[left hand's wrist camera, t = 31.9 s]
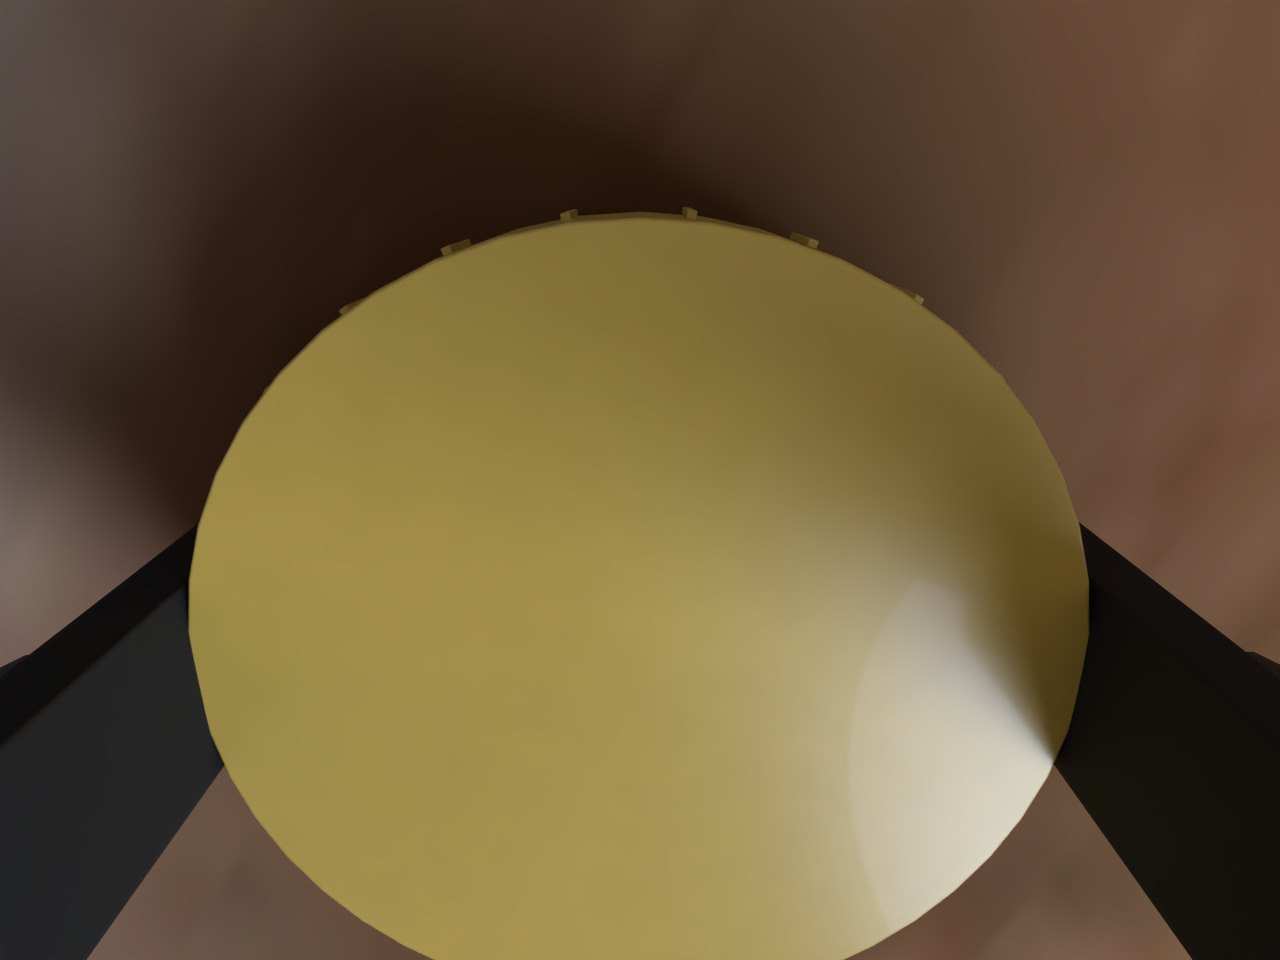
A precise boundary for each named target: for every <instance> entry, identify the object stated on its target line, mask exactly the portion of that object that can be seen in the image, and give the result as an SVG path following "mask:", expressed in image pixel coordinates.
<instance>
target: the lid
mask: <svg viewBox="0 0 1280 960" xmlns="http://www.w3.org/2000/svg"><path fill="white" fill-rule="evenodd" d="M560 217H561V220H556V221H552V222H547V223H542V224H537V225H532V226H528V227H523V228H519V229H516V230H513V231H510V232H508V233H505V234H502V235H499V236H497V237H494V238H491V239H488V240H485V241H483V242H480V243H477V244H474V245H472V244H471V242H470V240H469V239H466V240H463V241H460V242H457V243H454V244H451V245H448V246H446V247H443V248H441V252H442V254H443V256H442V257H440V258H437V259H434V260H432V261H431V262H429V263H427V264H425V265H423V266H421V267H419V268H417V269H415V270H414V271H412V272H410V273H408V274H406V275H404V276H402V277H400V278H399V279H397V280H395V281H393V282H391V283H389V284H387V285H385V286H383V287H382V288H380V289H378V290H376V291H374V292H373V293H372V294H370V295H369V296H367V297H365V298H363V299H360V300H358V301H355V302H353V303H351V304H348V305H346V306H344V307H343V308H342V309H341V310H339V312H340V313H341V315H342V316H340V317H339V318H337V319H336V320H335V321H333V322H332V323H331V324H329V325H328V326H327V327H325V328H324V329H322V330H321V331H320V332H319V333H318V334H317V335H316V336H315V337H314V338H313V339H312V340H311V341H310V342H309V343H308V344H307V345H306V346H305V347H304V348H303V349H302V350H301V351H300V352H299V353H298V354H297V355H296V356H295V357H294V358H293V359H292V360H291V361H290V362H289V363H288V364H287V365H286V366H285V367H284V368H283V369H282V370H281V371H280V372H279V373H278V374H277V376H276V377H275V378H274V380H273V381H272V382H271V384H270V385H269V386H267V387H266V389H265V390H264V391H263V395H262V396H261V397H260V399H259V400H258V401H257V403H256V404H255V405H254V407H253V408H252V410H251V411H250V412H249V414H248V415H247V416H246V418H245V419H244V420H243V422H242V424H241V425H240V427H239V429H238V431H237V433H236V435H235V437H234V439H233V441H232V443H231V445H230V447H229V448H228V450H227V452H226V454H225V456H224V458H223V460H222V462H221V464H220V466H219V468H218V470H217V471H216V474H215V476H214V479H213V482H212V485H211V488H210V491H209V494H208V497H207V500H206V503H205V506H204V509H203V512H202V515H201V518H200V521H199V524H198V528H197V534H196V540H195V546H194V552H193V558H192V564H191V570H190V576H189V599H188V632H189V637H190V642H191V647H192V652H193V658H194V662H195V667H196V671H197V676H198V681H199V685H200V690H201V694H202V699H203V704H204V708H205V713H206V717H207V721H208V725H209V730H210V733H211V736H212V738H213V741H214V743H215V745H216V747H217V749H218V752H219V754H220V756H221V758H222V760H223V763H224V765H225V767H226V769H227V771H228V774H229V776H230V778H231V779H232V781H233V783H234V784H235V786H236V787H237V789H238V791H239V792H240V794H241V795H242V797H243V799H244V800H245V802H246V803H247V805H248V806H249V808H250V810H251V811H252V813H253V814H254V816H255V818H256V819H257V820H258V822H259V823H260V824H261V825H262V826H263V828H264V829H265V830H266V831H267V833H268V834H269V835H270V836H271V837H272V839H273V840H274V841H275V842H276V844H277V845H278V846H279V847H280V848H281V850H282V851H283V852H284V853H285V855H286V856H287V857H288V858H289V859H290V860H291V861H292V862H293V863H294V864H295V865H296V866H297V867H299V868H300V869H301V870H302V871H303V872H304V873H305V874H306V875H307V876H308V877H309V878H310V879H311V880H312V881H313V882H314V883H315V884H316V885H317V886H318V887H319V888H320V889H322V890H323V891H324V892H325V893H326V894H328V895H329V896H330V897H332V898H333V899H334V900H336V901H337V902H338V903H340V904H341V905H342V906H344V907H345V908H346V909H348V910H349V911H350V912H351V913H353V914H354V915H355V916H357V917H358V918H359V919H361V920H362V921H364V922H365V923H367V924H369V925H370V926H372V927H374V928H375V929H377V930H379V931H380V932H382V933H384V934H385V935H387V936H389V937H390V938H392V939H394V940H395V941H397V942H399V943H400V944H402V945H404V946H406V947H408V948H410V949H412V950H415V951H417V952H419V953H421V954H423V955H425V956H427V957H430V958H432V959H434V960H844V959H846V958H848V957H850V956H852V955H854V954H857V953H859V952H861V951H863V950H865V949H867V948H869V947H872V946H874V945H876V944H877V943H879V942H881V941H882V940H884V939H885V938H887V937H889V936H890V935H892V934H894V933H895V932H897V931H899V930H900V929H902V928H904V927H905V926H907V925H909V924H910V923H912V922H914V921H915V920H917V919H918V918H920V917H921V916H922V915H923V914H925V913H926V912H927V911H929V910H930V909H931V908H933V907H934V906H935V905H937V904H938V903H939V902H941V901H942V900H943V899H945V898H946V897H947V896H948V895H950V894H951V893H952V892H954V891H955V890H956V889H957V888H958V887H959V886H960V885H961V884H962V883H963V882H964V881H965V880H967V879H968V878H969V877H970V876H971V875H972V874H973V873H974V872H975V871H976V870H977V869H978V868H979V867H980V866H981V865H982V864H983V863H984V862H985V861H986V860H987V859H988V858H989V857H990V856H991V855H992V854H993V853H994V852H995V850H996V849H997V848H998V847H999V845H1000V844H1001V843H1002V842H1003V841H1004V839H1005V838H1006V837H1007V836H1008V834H1009V833H1010V832H1011V831H1012V830H1013V828H1014V827H1015V826H1016V825H1017V824H1018V822H1019V821H1020V820H1021V819H1022V817H1023V815H1024V814H1025V812H1026V811H1027V809H1028V807H1029V806H1030V804H1031V803H1032V801H1033V799H1034V798H1035V796H1036V795H1037V793H1038V791H1039V790H1040V788H1041V787H1042V785H1043V784H1044V782H1045V780H1046V779H1047V777H1048V775H1049V773H1050V771H1051V768H1052V766H1053V764H1054V762H1055V760H1056V757H1057V755H1058V753H1059V751H1060V749H1061V746H1062V744H1063V742H1064V740H1065V738H1066V735H1067V733H1068V730H1069V727H1070V723H1071V718H1072V714H1073V710H1074V706H1075V701H1076V697H1077V693H1078V688H1079V683H1080V679H1081V674H1082V669H1083V664H1084V659H1085V654H1086V649H1087V644H1088V639H1089V579H1088V573H1087V567H1086V561H1085V555H1084V549H1083V543H1082V537H1081V531H1080V526H1079V523H1078V520H1077V517H1076V514H1075V511H1074V508H1073V505H1072V502H1071V499H1070V496H1069V493H1068V490H1067V487H1066V484H1065V481H1064V478H1063V475H1062V472H1061V470H1060V469H1059V467H1058V465H1057V463H1056V461H1055V459H1054V457H1053V455H1052V453H1051V451H1050V449H1049V447H1048V445H1047V444H1046V442H1045V440H1044V438H1043V436H1042V434H1041V432H1040V430H1039V428H1038V426H1037V424H1036V422H1035V421H1034V420H1033V418H1032V417H1031V416H1030V414H1029V413H1028V412H1027V410H1026V409H1025V407H1024V406H1023V405H1022V403H1021V402H1020V401H1019V399H1018V398H1017V397H1016V395H1015V394H1014V393H1013V391H1012V390H1011V388H1010V387H1009V386H1008V384H1007V383H1006V382H1005V380H1004V377H1003V376H1002V374H1001V373H1000V372H998V371H996V370H995V369H994V368H993V367H992V366H991V365H990V364H989V363H988V362H987V361H986V360H985V359H984V358H983V357H982V356H981V355H980V354H979V353H978V352H977V351H976V350H975V349H974V348H973V347H972V346H971V345H970V344H969V343H968V342H967V341H966V340H965V339H964V338H963V337H962V336H961V335H960V334H959V333H958V332H957V331H956V330H955V329H954V328H952V327H951V326H950V325H948V324H947V323H946V322H944V321H943V320H941V319H940V318H939V317H937V316H936V315H935V314H933V313H932V312H931V311H929V310H928V309H927V308H925V307H924V306H922V305H921V303H922V302H923V301H924V299H923V298H922V297H920V296H919V295H917V294H915V293H912V292H910V291H907V290H905V289H902V288H900V287H898V286H895V285H893V284H890V283H887V282H885V281H883V280H881V279H879V278H877V277H875V276H873V275H872V274H870V273H868V272H866V271H864V270H862V269H860V268H858V267H856V266H855V265H853V264H851V263H849V262H847V261H845V260H843V259H840V258H838V257H835V256H833V255H830V254H827V253H825V252H822V251H820V250H817V249H816V248H817V246H818V243H819V241H817V240H814V239H812V238H809V237H806V236H803V235H800V234H797V233H794V232H792V234H791V237H790V240H789V239H787V238H784V237H781V236H778V235H776V234H773V233H770V232H767V231H765V230H762V229H759V228H755V227H750V226H745V225H740V224H736V223H731V222H726V221H721V220H717V219H712V218H707V217H703V216H697V211H696V210H694V209H692V208H689V207H682V215H679V214H665V213H651V212H627V213H613V214H598V215H583V216H578V211H577V209H574V210H568V211H566V212H563V213H561V214H560Z"/></svg>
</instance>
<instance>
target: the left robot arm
mask: <svg viewBox="0 0 1280 960" xmlns="http://www.w3.org/2000/svg"><path fill="white" fill-rule="evenodd" d="M1078 523H1079V522H1078ZM198 524H199V523H198ZM198 524H197V525H196V526H195V527H193V528H192V529H191V530H189V531H188V532H187V533H186V534H184V535H183V536H182V537H180V538H179V539H178V540H177V541H175V542H174V543H173V544H171V545H170V546H169V547H168V548H166V549H165V550H164V551H162V552H161V553H160V554H159V555H157V556H156V557H155V558H153V559H152V560H151V561H149V562H148V563H147V564H146V565H144V566H143V567H142V568H140V569H139V570H138V571H137V572H135V573H134V574H133V575H131V576H130V577H129V578H128V579H126V580H125V581H124V582H122V583H121V584H120V585H119V586H117V587H116V588H115V589H113V590H112V591H111V592H110V593H108V594H107V595H106V596H104V597H103V598H102V599H101V600H99V601H98V602H97V603H95V604H94V605H93V606H92V607H90V608H89V609H88V610H86V611H85V612H84V613H83V614H81V615H80V616H79V617H77V618H76V619H75V620H74V621H72V622H71V623H70V624H68V625H67V626H66V627H65V628H63V629H62V630H61V631H59V632H58V633H57V634H56V635H54V636H53V637H52V638H50V639H49V640H48V641H47V642H45V643H44V644H43V645H41V646H40V647H39V648H38V649H36V650H35V651H34V652H32V653H31V654H30V655H25V656H23V657H21V658H19V659H17V660H15V661H13V662H11V663H9V664H7V665H5V666H3V667H1V668H0V960H87V958H88V957H89V955H90V954H91V953H92V951H93V950H94V948H95V947H96V945H97V944H98V943H99V941H100V940H101V938H102V937H103V936H104V934H105V933H106V931H107V930H108V929H109V927H110V926H111V924H112V923H113V922H114V920H115V919H116V917H117V916H118V914H119V913H120V912H121V910H122V909H123V907H124V906H125V905H126V903H127V902H128V900H129V899H130V898H131V896H132V895H133V893H134V892H135V891H136V889H137V888H138V886H139V885H140V883H141V882H142V881H143V879H144V878H145V876H146V875H147V874H148V872H149V871H150V869H151V868H152V867H153V865H154V864H155V862H156V861H157V860H158V858H159V857H160V855H161V854H162V852H163V851H164V850H165V848H166V847H167V845H168V844H169V843H170V841H171V840H172V838H173V837H174V836H175V834H176V833H177V831H178V830H179V829H180V827H181V826H182V824H183V823H184V821H185V820H186V819H187V817H188V816H189V814H190V813H191V812H192V810H193V809H194V807H195V806H196V805H197V803H198V802H199V800H200V799H201V798H202V796H203V795H204V793H205V792H206V790H207V789H208V788H209V786H210V785H211V783H212V782H213V781H214V779H215V778H216V776H217V775H218V774H219V772H220V771H221V769H222V768H223V767H224V763H223V760H222V758H221V756H220V754H219V752H218V749H217V747H216V745H215V743H214V741H213V738H212V736H211V733H210V730H209V725H208V721H207V717H206V713H205V708H204V704H203V699H202V694H201V690H200V685H199V681H198V676H197V671H196V667H195V662H194V658H193V652H192V647H191V642H190V637H189V632H188V599H189V576H190V570H191V564H192V558H193V552H194V546H195V540H196V534H197V528H198ZM1079 526H1080V531H1081V537H1082V543H1083V549H1084V555H1085V561H1086V567H1087V573H1088V579H1089V639H1088V644H1087V649H1086V654H1085V659H1084V664H1083V669H1082V674H1081V679H1080V683H1079V688H1078V693H1077V697H1076V701H1075V706H1074V710H1073V714H1072V718H1071V723H1070V727H1069V730H1068V733H1067V735H1066V738H1065V740H1064V742H1063V744H1062V746H1061V749H1060V751H1059V753H1058V755H1057V757H1056V760H1055V762H1054V765H1055V766H1056V768H1057V769H1058V771H1059V772H1060V773H1061V775H1062V776H1063V778H1064V779H1065V781H1066V782H1067V783H1068V785H1069V786H1070V788H1071V789H1072V790H1073V792H1074V793H1075V795H1076V796H1077V797H1078V799H1079V800H1080V802H1081V803H1082V804H1083V806H1084V807H1085V809H1086V810H1087V812H1088V813H1089V814H1090V816H1091V817H1092V819H1093V820H1094V821H1095V823H1096V824H1097V826H1098V827H1099V828H1100V830H1101V831H1102V833H1103V834H1104V836H1105V837H1106V838H1107V840H1108V841H1109V843H1110V844H1111V845H1112V847H1113V848H1114V850H1115V851H1116V852H1117V854H1118V855H1119V857H1120V858H1121V859H1122V861H1123V862H1124V864H1125V865H1126V867H1127V868H1128V869H1129V871H1130V872H1131V874H1132V875H1133V876H1134V878H1135V879H1136V881H1137V882H1138V883H1139V885H1140V886H1141V888H1142V889H1143V890H1144V892H1145V893H1146V895H1147V896H1148V898H1149V899H1150V900H1151V902H1152V903H1153V905H1154V906H1155V907H1156V909H1157V910H1158V912H1159V913H1160V914H1161V916H1162V917H1163V919H1164V920H1165V921H1166V923H1167V924H1168V926H1169V927H1170V929H1171V930H1172V931H1173V933H1174V934H1175V936H1176V937H1177V938H1178V940H1179V941H1180V943H1181V944H1182V945H1183V947H1184V948H1185V950H1186V951H1187V953H1188V954H1189V955H1190V957H1191V958H1192V960H1280V664H1277V663H1275V662H1273V661H1271V660H1269V659H1267V658H1265V657H1263V656H1261V655H1259V654H1257V653H1255V652H1245V651H1244V650H1243V649H1241V648H1240V647H1239V646H1238V645H1236V644H1235V643H1234V642H1232V641H1231V640H1230V639H1229V638H1227V637H1226V636H1225V635H1223V634H1222V633H1221V632H1220V631H1218V630H1217V629H1216V628H1214V627H1213V626H1212V625H1211V624H1209V623H1208V622H1207V621H1205V620H1204V619H1203V618H1202V617H1200V616H1199V615H1198V614H1196V613H1195V612H1194V611H1193V610H1191V609H1190V608H1189V607H1187V606H1186V605H1185V604H1184V603H1182V602H1181V601H1180V600H1178V599H1177V598H1176V597H1175V596H1173V595H1172V594H1171V593H1169V592H1168V591H1167V590H1165V589H1164V588H1163V587H1162V586H1160V585H1159V584H1158V583H1156V582H1155V581H1154V580H1153V579H1151V578H1150V577H1149V576H1147V575H1146V574H1145V573H1144V572H1142V571H1141V570H1140V569H1138V568H1137V567H1136V566H1135V565H1133V564H1132V563H1131V562H1129V561H1128V560H1127V559H1126V558H1124V557H1123V556H1122V555H1120V554H1119V553H1118V552H1117V551H1115V550H1114V549H1113V548H1111V547H1110V546H1109V545H1108V544H1106V543H1105V542H1104V541H1102V540H1101V539H1100V538H1099V537H1097V536H1096V535H1095V534H1093V533H1092V532H1091V531H1090V530H1088V529H1087V528H1086V527H1084V526H1083V525H1082V524H1081V523H1079Z"/></svg>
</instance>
